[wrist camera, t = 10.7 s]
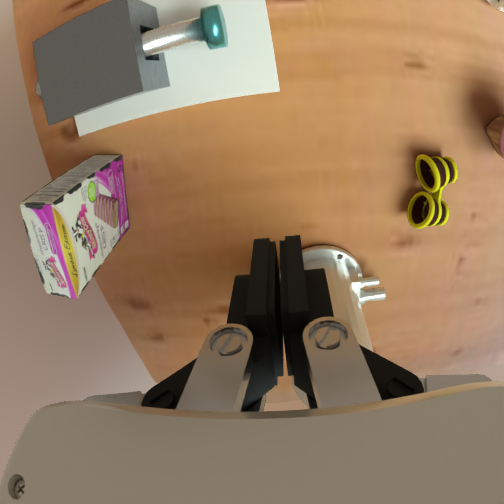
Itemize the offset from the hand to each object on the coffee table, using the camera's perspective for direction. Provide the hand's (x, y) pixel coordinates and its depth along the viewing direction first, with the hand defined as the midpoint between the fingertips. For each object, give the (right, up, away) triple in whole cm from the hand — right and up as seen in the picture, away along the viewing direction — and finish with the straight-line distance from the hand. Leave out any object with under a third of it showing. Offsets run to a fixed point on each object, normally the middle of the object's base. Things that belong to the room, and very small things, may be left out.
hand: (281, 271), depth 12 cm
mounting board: (-12, +24, +18) cm, 32 cm away
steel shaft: (-15, +23, +16) cm, 31 cm away
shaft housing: (-17, +23, +17) cm, 34 cm away
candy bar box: (-20, +9, +28) cm, 36 cm away
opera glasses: (+22, +10, +25) cm, 35 cm away
